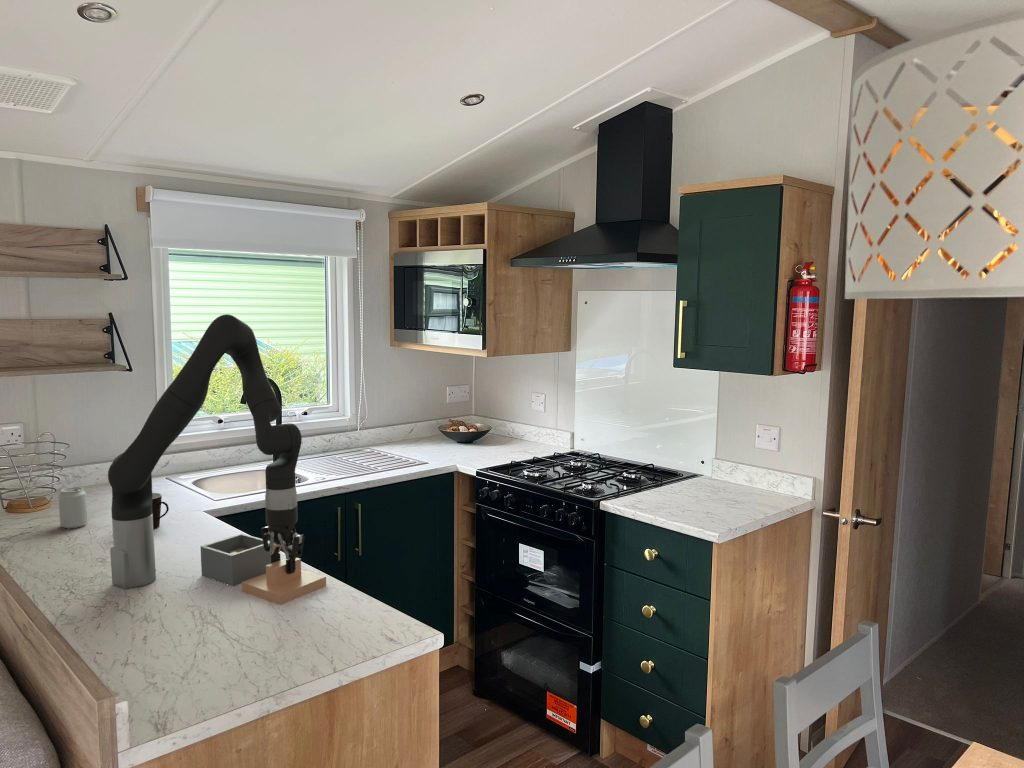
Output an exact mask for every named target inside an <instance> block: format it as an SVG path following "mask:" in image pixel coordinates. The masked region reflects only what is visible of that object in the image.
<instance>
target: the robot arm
mask: <svg viewBox="0 0 1024 768" xmlns="http://www.w3.org/2000/svg"><path fill="white" fill-rule="evenodd" d="M225 354H226V355H227V356H230V358H231V359H232V360H233V362H234V363H235V365H236V366H237V369H238V370H239V373H240V375H241V376H240V377H241V382H242V383H241V386H242V393H243V397H244V399H245V400H244V401H245V403H246V405H247V407H248V409H249V411H250V414H251V417H252V418H253V419H252V420H253V425H254V432H255V433H254V434H255V442H256V446H257V448H258V450H259V451H260V452H261V453H262V454H264V455H265V456H266V455H267V456H274V455H278V454H279V457H278V459H276V460H275V461H273V462H270V463H269V464H268V465H266V467H265V474H264V475H265V495H264V498H265V499H264V500H265V501H264V503H265V504H264V505H265V524H266V525H267V526H264V527H261V528H260V534H261V539H262V540H263V545H264V549H265V551H268V552H269V554H270V555H271V563H274V562H277V561H279V560H281V553H280V552H281V550H282V552H284V555H285V558H286V559H287V560H286V573H287V574H292V573H294V572H295V569H296V564H295V559H296V558H299V557H302V556H303V550H304V544H305V535H304V534H303V533H302V534H298V533H297V530H296V526H295V525H296V523H297V522H298V520H299V519H298V494H297V493H298V492H297V486H296V468H297V463H298V459H299V456H300V455H299V454H300V451H301V448H302V441H303V440H302V439H303V437H302V433H301V430H300V428H299V427H298V426H297V425H296V424H295V423H290V422H288V423H280V424H275V425H272V423H273V422H274V421H276V420H277V419H279V418H280V416H282V413H283V412H282V411H283V410H282V407H281V405H280V402H279V400H278V398H277V396H276V393H275V392H274V389H273V388H272V385H271V383H270V381H269V378H268V376H267V373H266V371H265V368H264V365H263V361H262V359H261V354H260V351H259V347H258V343H257V339H256V336H255V333H254V330H253V328H251V327H250V326H249V325H248V324H246V323H245V322H244V321H243V320H241V319H239V318H237V317H236V316H234V315H232V314H228V313H227V314H221V315H219V316H217V317H216V318H215V319H214V320H213V321H211V323H210V324H209V326H208V327H207V328H206V330H205V332H204V334H203V335H202V337H201V338H200V340H199V342H198V344H197V346H196V347H195V348H194V350H193V352H192V354H191V355H190V357H189V358H188V359H187V361H186V363H185V364H184V365H183V367H182V368H181V369H180V371H179V372H178V374H177V375H176V377H175V378H174V379H173V381H172V382H171V383H170V385H168V386H167V388H166V390H165V391H164V392H163V393H162V395H161V396H160V397H159V399H158V400H157V402H156V404H155V405H154V407H153V408H152V410H151V411H150V414H149V415H148V417H147V419H146V421H145V422H144V424H143V426H142V428H141V430H140V432H139V434H138V435H137V436H136V438H134V440H133V442H132V443H130V445H129V446H128V447H127V449H126V450H125V451H124V452H123V453H121V454H118V455H117V456H116V457H115V458H114V459H113V461H112V462H111V464H110V466H109V468H108V470H107V481H108V483H109V485H110V487H111V498H112V499H111V525H112V541H113V542H112V544H113V546H112V547H110V550H109V551H110V552H109V553H110V569H111V583H112V585H114V586H116V587H120V588H122V589H124V590H126V589H130V588H138V587H141V586H145V585H148V584H151V583H152V582H155V580H156V578H157V577H156V576H157V575H156V574H157V573H156V572H157V569H156V558H155V557H156V556H155V555H156V554H155V536H154V535H155V533H154V529H153V514H152V499H153V498H152V493H153V481H152V480H153V479H152V477H153V475H152V473H153V471H154V470H155V468H156V466H157V465H158V463H159V461H160V459H161V457H162V456H163V454H164V453H165V452H166V451H167V449H168V448H169V447H170V446H171V445H172V444H173V442H174V441H176V440H177V438H178V437H179V436H180V435H181V433H182V432H183V431H184V430H185V429H186V427H187V426H188V425H189V424H190V423H191V422H192V420H193V418H195V416H197V413H198V412H199V410H201V408H202V406H203V405H204V404H205V401H206V398H207V395H208V390H209V387H210V381H211V376H212V373H213V371H214V369H215V367H216V366H217V364H218V363H219V362H220V360H221V359H222V358H223V356H224V355H225ZM268 541H270V543H269V546H268ZM290 551H291V552H290Z"/></svg>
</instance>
